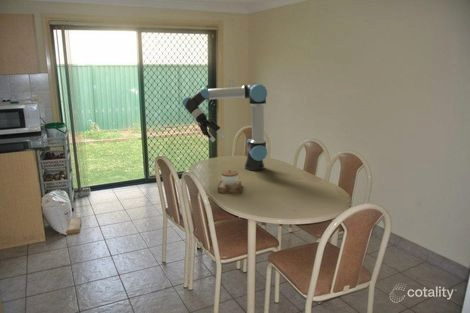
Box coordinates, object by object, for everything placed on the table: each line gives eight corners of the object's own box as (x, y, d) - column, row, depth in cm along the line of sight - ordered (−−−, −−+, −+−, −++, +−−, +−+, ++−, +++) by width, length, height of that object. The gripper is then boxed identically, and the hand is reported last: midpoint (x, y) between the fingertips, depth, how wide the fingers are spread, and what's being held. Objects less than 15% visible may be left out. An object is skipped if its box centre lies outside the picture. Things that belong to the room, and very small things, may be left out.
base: (241, 185, 233) (241, 181, 232) (240, 192, 219) (240, 188, 219) (220, 185, 234) (220, 180, 233) (217, 192, 220) (217, 187, 220)
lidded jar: (240, 182, 229) (240, 168, 227) (234, 187, 219) (234, 173, 217) (224, 180, 233) (224, 167, 230) (218, 185, 223) (218, 171, 221)
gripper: (205, 117, 255) (224, 139, 252) (186, 122, 234) (206, 146, 231) (211, 110, 252) (230, 132, 249) (192, 114, 230) (213, 139, 227)
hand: (219, 139), depth 240 cm, fingers open, 13 cm apart
